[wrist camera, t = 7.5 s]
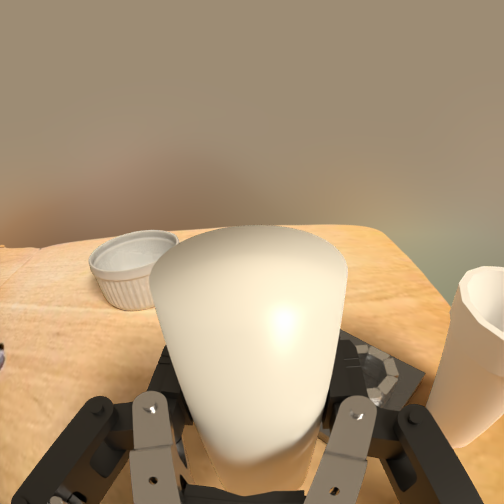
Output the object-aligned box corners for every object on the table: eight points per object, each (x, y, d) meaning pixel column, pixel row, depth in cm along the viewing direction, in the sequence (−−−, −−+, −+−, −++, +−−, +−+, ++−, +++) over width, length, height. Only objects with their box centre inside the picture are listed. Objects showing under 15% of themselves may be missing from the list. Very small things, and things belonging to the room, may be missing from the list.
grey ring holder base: (205, 345, 32) (199, 319, 30) (278, 303, 38) (277, 278, 36) (358, 464, 18) (369, 444, 16) (421, 381, 24) (433, 354, 22)
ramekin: (166, 260, 51) (158, 222, 48) (203, 293, 41) (196, 247, 38) (95, 287, 44) (82, 248, 41) (115, 330, 34) (97, 283, 31)
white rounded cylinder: (200, 462, 14) (122, 263, 8) (265, 417, 17) (255, 214, 11) (258, 521, 10) (229, 371, 5) (326, 464, 13) (383, 260, 7)
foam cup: (508, 418, 17) (577, 307, 11) (453, 483, 13) (551, 376, 8) (447, 368, 24) (490, 255, 19) (386, 415, 21) (433, 292, 16)
